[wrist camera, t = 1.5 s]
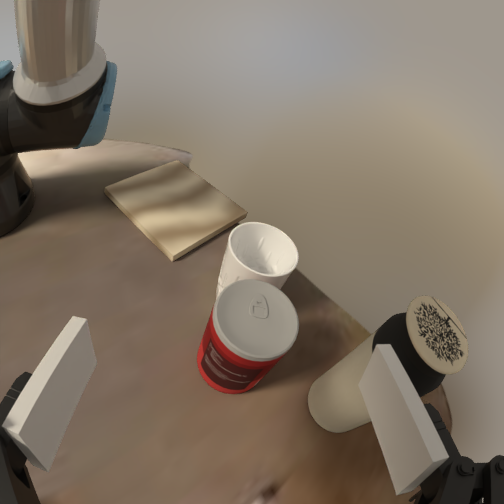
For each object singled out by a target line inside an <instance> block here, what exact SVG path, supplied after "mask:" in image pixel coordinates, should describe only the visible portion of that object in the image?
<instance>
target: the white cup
mask: <svg viewBox="0 0 504 504" xmlns="http://www.w3.org/2000/svg"><path fill="white" fill-rule="evenodd" d="M298 256H299V255H298V251H297V248H296V246H295V244H294V243H293V241H292V240H291V239H290V238H289V237H288V236H287V235H286V234H285V233H284V232H282V231H281V230H279V229H278V228H276V227H273V226H271V225H268V224H265V223H260V222H247V223H243V224H240V225H238V226H237V227H235V228H234V229H233V230H232V232H231V233H230V236H229V239H228V243H227V247H226V251H225V254H224V258H223V262H222V266H221V271H220V274H219V279H218V285H217V289H216V300H217V298H218V296H219V295H220V293H221V292H222V291H223V290H224V289H225V287H227V286H228V285H230V284H231V283H234V282H236V281H239V280H245V279H255V280H261V281H264V282H267V283H269V284H271V285H273V286H275V287H277V288H278V289H279V290H280V289H281V288H282V286H283V285H284V283H285V282H286V280H287V279H288V278H289V276H290V275H291V273H292V272H293V270H294V269H295V267H296V266H297V264H298V258H299V257H298Z"/></svg>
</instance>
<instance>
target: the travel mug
mask: <svg viewBox="0 0 504 504" xmlns="http://www.w3.org/2000/svg"><path fill="white" fill-rule="evenodd" d="M377 344H390V345H391V346H392V348H393V350H394V352H395V353H396V355H397V357H398V359H399V360H400V362H401V364H402V366H403V368H404V369H405V371H406V373H407V375H408V377H409V378H410V380H411V382H412V384H413V386H414V388H415V390H416V391H417V393H418V395H419V397H422V396H424V395H425V394H427V393H429V392H431V391H433V390H434V389H436V388H437V387H438V386H439V385H440V384H441V382H442V381H443V379H444V377H445V375H446V374H455V373H457V372H459V371H460V370H461V369H462V368H463V367H464V366H465V364H466V361H467V358H468V343H467V338H466V334H465V332H464V329H463V327H462V325H461V323H460V321H459V320H458V318H457V317H456V315H455V314H454V313H453V312H452V311H451V309H450V308H449V307H448V306H446V305H445V304H444V303H443V302H441V301H440V300H438V299H436V298H434V297H430V296H419V297H416V298H415V299H413V300H412V301H411V303H410V304H409V306H408V309H407V312H406V313H400V314H396V315H394V316H392V317H391V318H389V319H388V320H387V321H386V322H385V323H384V324H383V325H382V326H381V327H380V328H379V329H377V330H376V331H375V332H374V333H373V334H372V335H370V336H369V337H368V338H367V339H366V340H365V341H364V342H362V343H361V344H360V345H359V346H358V347H356V348H355V349H354V350H353V351H352V352H350V353H349V354H348V355H347V356H346V357H344V358H343V359H342V360H341V361H339V362H338V363H337V364H336V365H334V366H333V367H332V368H331V369H329V370H328V371H327V372H325V373H324V374H323V375H322V376H320V377H319V378H318V379H316V380H315V381H314V383H313V384H312V386H311V388H310V390H309V394H308V406H309V410H310V413H311V415H312V417H313V418H314V420H315V421H316V422H317V423H318V424H319V425H320V426H321V427H322V428H324V429H326V430H328V431H331V432H336V433H341V432H346V431H349V430H351V429H354V428H356V427H359V426H361V425H363V424H366V423H368V422H370V421H371V418H370V415H369V413H368V410H367V407H366V405H365V402H364V399H363V397H362V394H361V391H360V389H359V386H358V384H359V382H360V380H361V378H362V376H363V374H364V372H365V369H366V367H367V365H368V363H369V361H370V358H371V356H372V354H373V352H374V349H375V347H376V345H377Z"/></svg>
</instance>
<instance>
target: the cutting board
mask: <svg viewBox="0 0 504 504" xmlns="http://www.w3.org/2000/svg"><path fill="white" fill-rule="evenodd" d="M105 194H106V195H107V196H108V197H109V198H110V199H111V200H112V201H113V203H114V204H115V205H116V206H117V207H118V208H119V209H120V210H121V211H122V212H123V213H124V214H125V215H126V216H127V217H128V218H129V219H130V220H131V221H132V222H133V223H134V224H135V225H136V226H137V227H138V228H139V229H140V230H141V231H142V232H143V233H144V234H145V235H146V236H147V237H148V238H149V239H150V240H151V241H152V242H153V243H154V244H155V245H156V246H157V247H158V248H159V249H160V250H161V251H162V252H163V253H164V254H165V255H166V256H167V257H168V258H169V259H170V260H171V261H172V262H173V261H174V260H176V259H178V258H179V257H181V256H183V255H184V254H186V253H187V252H189V251H191V250H192V249H194V248H196V247H197V246H199V245H201V244H202V243H204V242H206V241H207V240H209V239H211V238H212V237H214V236H216V235H217V234H219V233H221V232H222V231H224V230H226V229H227V228H229V227H231V226H232V225H234V224H236V223H237V222H239V221H241V220H242V219H244V218H245V217H246V215H247V213H248V212H246V211H245V210H244V209H243V208H241V207H240V206H239V205H237V204H236V203H235V202H233V201H232V200H231V199H229V198H228V197H227V196H225V195H224V194H223V193H221V192H220V191H219V190H217V189H216V188H215V187H213V186H212V185H211V184H209V183H208V182H206V181H205V180H204V179H202V178H201V177H200V176H199V175H197V174H196V173H194V172H193V171H192V170H190V169H189V168H188V167H186V166H185V165H184V164H182V163H181V162H179V161H178V160H176V161H173V162H170V163H167V164H164V165H162V166H159V167H156V168H153V169H151V170H148V171H145V172H142V173H140V174H137V175H135V176H132V177H129V178H127V179H124V180H122V181H119V182H117V183H114V184H112V185H109V186H107V187H105Z"/></svg>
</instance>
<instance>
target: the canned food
mask: <svg viewBox="0 0 504 504" xmlns="http://www.w3.org/2000/svg"><path fill="white" fill-rule="evenodd" d="M298 330H299V321H298V315H297V312H296V309H295V307H294V305H293V304H292V302H291V301H290V299H289V298H288V297H287V296H286V295H285V294H284V293H283V292H282V291H281V290H279V289H278V288H277V287H275V286H273V285H271V284H269V283H267V282H264V281H261V280H255V279H245V280H239V281H236V282H234V283H231V284H230V285H228V286H227V287H225V289H224V290H223V291H222V292H221V293H220V295H219V296H218V298H217V300H216V301H215V304H214V307H213V309H212V312H211V315H210V318H209V321H208V323H207V326H206V329H205V332H204V335H203V338H202V341H201V344H200V347H199V350H198V355H197V362H198V368H199V371H200V373H201V375H202V377H203V378H204V380H205V381H206V382H207V383H208V384H209V385H210V386H211V387H212V388H214V389H216V390H218V391H220V392H223V393H228V394H237V393H242V392H245V391H248V390H249V389H251V388H253V387H254V386H255V385H256V384H257V383H258V382H259V381H260V380H261V379H262V378H263V377H264V376H265V375H266V374H267V373H268V372H269V371H270V370H271V369H272V368H273V367H274V366H275V364H276V363H277V362H278V361H279V360H280V359H281V358H282V357H283V356H284V355H285V354H286V353H287V351H288V350H289V349H290V348H291V346H292V345H293V343H294V341H295V340H296V337H297V334H298Z"/></svg>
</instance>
